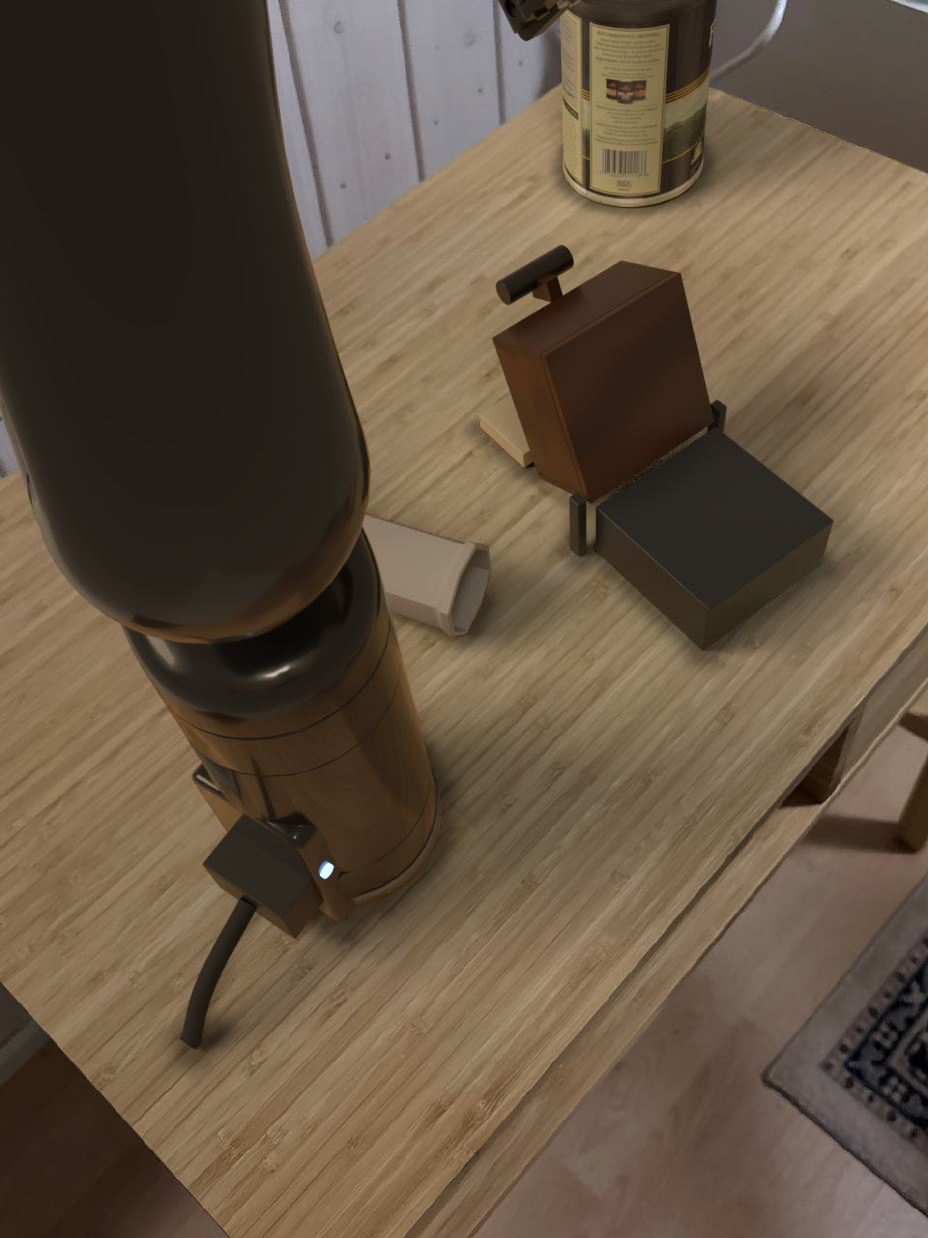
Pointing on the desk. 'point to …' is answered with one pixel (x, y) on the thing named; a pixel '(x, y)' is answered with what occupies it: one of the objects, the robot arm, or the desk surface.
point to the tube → (429, 574)
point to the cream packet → (506, 430)
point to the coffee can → (635, 97)
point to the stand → (707, 534)
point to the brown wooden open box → (602, 371)
